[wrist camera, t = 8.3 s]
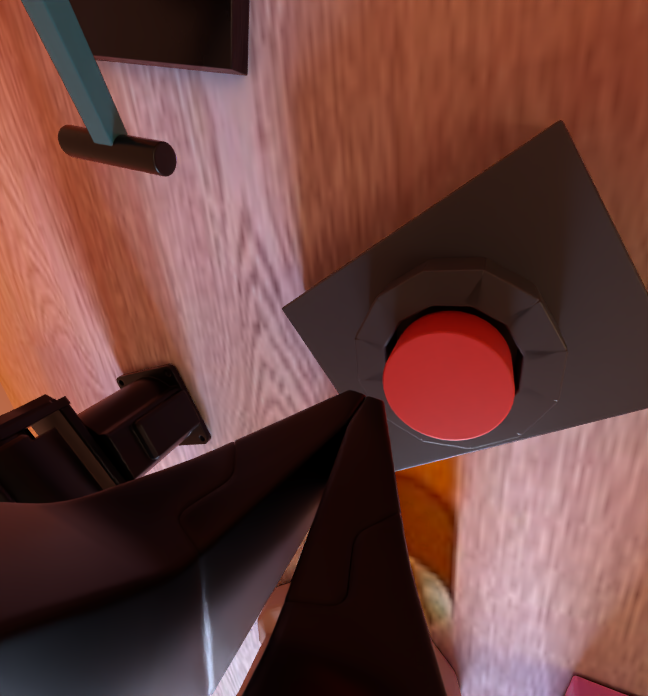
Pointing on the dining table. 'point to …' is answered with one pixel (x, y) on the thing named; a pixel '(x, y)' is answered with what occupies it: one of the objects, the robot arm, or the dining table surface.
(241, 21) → the bracket
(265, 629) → the hourglass
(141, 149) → the lever
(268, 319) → the dining table surface
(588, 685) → the gum box
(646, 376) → the button box
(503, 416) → the button
